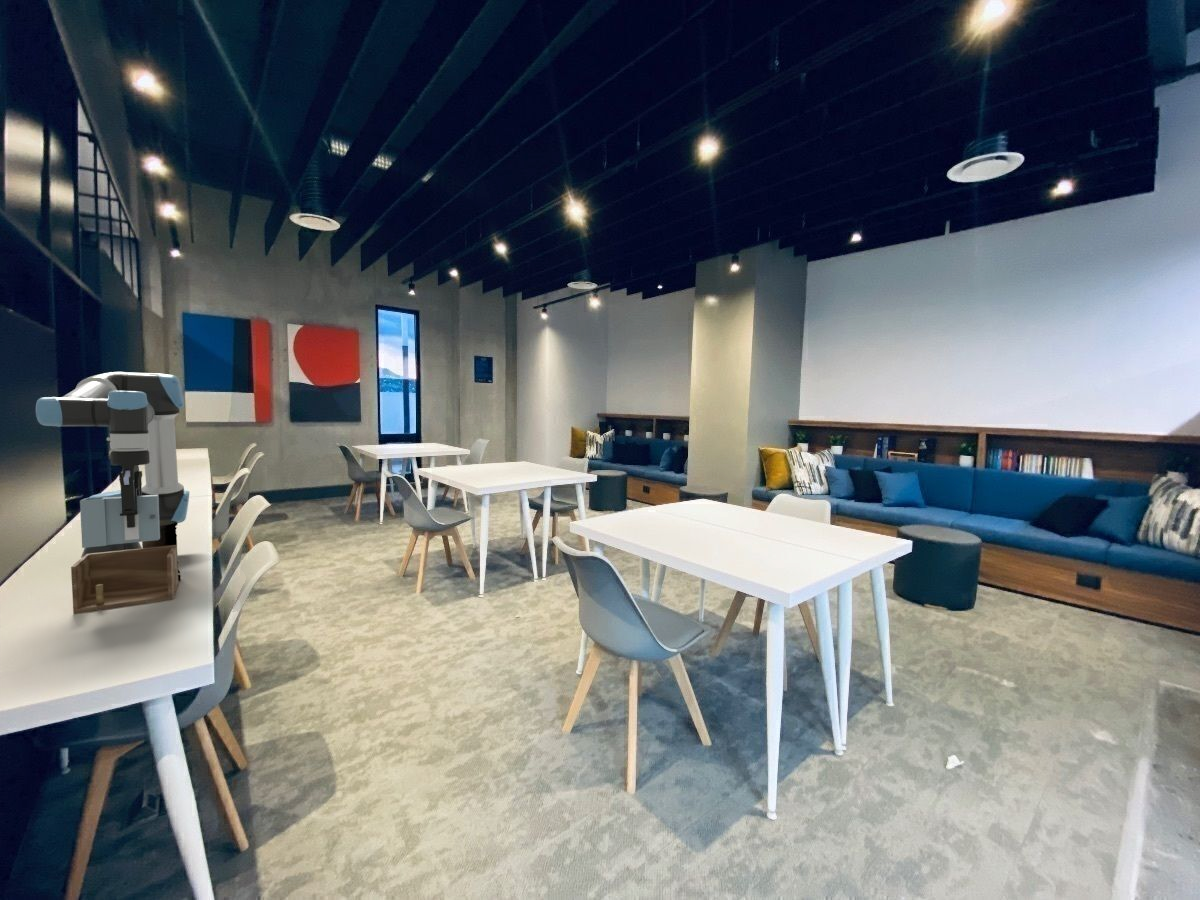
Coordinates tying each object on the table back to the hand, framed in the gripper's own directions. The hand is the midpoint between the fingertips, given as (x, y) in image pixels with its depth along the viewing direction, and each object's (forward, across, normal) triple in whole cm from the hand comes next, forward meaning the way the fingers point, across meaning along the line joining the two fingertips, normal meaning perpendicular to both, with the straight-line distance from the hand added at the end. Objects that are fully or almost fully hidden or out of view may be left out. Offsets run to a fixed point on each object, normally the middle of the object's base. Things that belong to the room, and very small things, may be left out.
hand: (133, 537), depth 133 cm
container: (+18, -18, +3) cm, 25 cm away
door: (+1, 0, -2) cm, 2 cm away
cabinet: (+18, -5, -2) cm, 18 cm away
